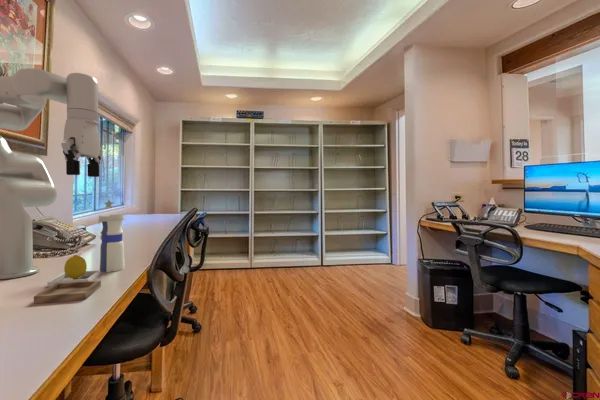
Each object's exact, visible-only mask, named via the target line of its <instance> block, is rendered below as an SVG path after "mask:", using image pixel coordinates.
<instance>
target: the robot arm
mask: <svg viewBox="0 0 600 400" xmlns="http://www.w3.org/2000/svg"><path fill="white" fill-rule="evenodd" d="M48 100H50V101H54V102H56V103H57V102H58V103H61V104H64V105H66V120H65V124H64V130H63V141H62V142H61V144H60V145H61V148H62V153H63V155H64V160H65V163H66V165H65V166H66V167H65V171H66V175H67V176H79V175H80V174H81V166H80V165H81V162H80V160H79V158H85V159H86V160H87V162H88V163H87V165H86V166H87V177H88V178H90V177H91V178H99V177H100V164H101V160H102V154H103V152H102V150H101V149H100V147H101V146H100V135H99V128H98V126H99V83H98V81H97V79H96V78H95V77H94V76H91V75H88V74H85V73H81V72H71V73H69V74H67V76H66V77H64V76H61V75H60V74H59V75H58V74H56V73H53V72H51V71H47V70H45V69H39V68H20V69H18V70H17V71H16V72H15V73H14V74H13V75H11V76H10V75H6V76H5V75H4V76H2V75H1V76H0V129H1V130H9V131H14V132H22V131H25V130H26V129H27V128H29V127H30V125H32V123H33V122H34V121H35V120H36V119H37V117H38V116H39V114H40V113H41V112H42V111H43V109H44V108H45V107H46V104H47V101H48ZM57 197H58V194H57V188H56V185H55V184H54V181H53V179H52V177H51V175H50V173H49V171H48V169H47V167H46V165H45V163H44V162H43V160H42V159H40V158H39V157H37V156H36V155H32V154H26V153H25V154H24V153H18V152H14V151H13V150H11V147H10V146H9V143H8V141H7V140H6V139H5V138H4V137H3V136H2V135H1V134H0V280H6V279H7V280H8V279H16V278H21V277H25V276H31V275H34V274H36V273H38V272H39V271H40V268H39V267H38V266H35V265H34V259H33V258H34V251H33V248H34V246H33V245H34V244H33V242H34V241H33V240H34V239H33V235H34V234H33V233H34V232H33V218H32V217H31V215H30V214H29V213H28V212H27V211H26V210H25V208H35V207H36V208H38V207H48V206H51V205H53V204H54V203H55V202H56V200H57Z"/></svg>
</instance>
